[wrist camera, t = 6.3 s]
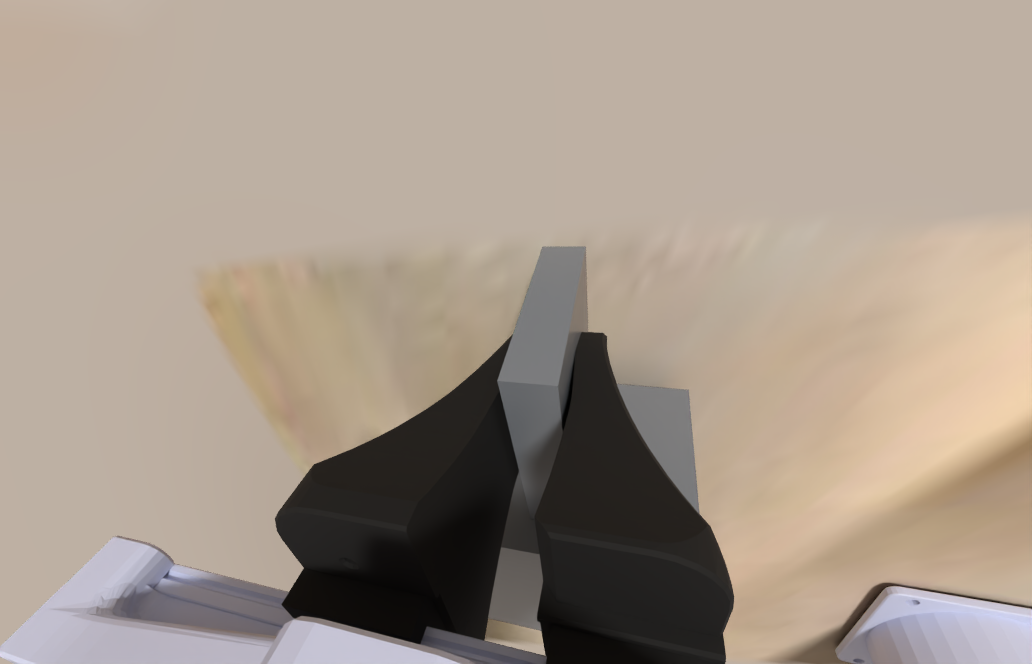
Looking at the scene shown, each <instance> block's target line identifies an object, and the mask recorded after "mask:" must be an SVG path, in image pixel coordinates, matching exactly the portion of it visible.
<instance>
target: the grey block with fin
mask: <svg viewBox="0 0 1032 664" xmlns="http://www.w3.org/2000/svg"><path fill="white" fill-rule="evenodd" d="M581 332H588V308H587V272H586V247H542V250H541V253H540V256H539V259H538V262H537V265H536V268H535V271H534V273H533V276H532V279H531V282H530V285H529V288H528V291H527V294H526V297H525V300H524V303H523V306H522V309H521V312H520V315H519V318H518V321H517V324H516V327H515V330H514V333H513V336H512V339H511V342H510V345H509V348H508V351H507V354H506V357H505V360H504V363H503V365H502V368H501V371H500V374H499V377H498V380H497V382H498V386H499V390H500V394H501V398H502V402H503V406H504V411H505V415H506V419H507V423H508V427H509V431H510V435H511V439H512V444H513V448H514V452H515V456H516V460H517V464H518V468H519V473H518V476H517V479H516V483H515V486H514V490H513V494H512V498H511V503H510V507H509V512H508V516H507V521H506V526H505V531H504V536H503V540H502V545H501V550H500V555H499V560H498V566H497V571H496V576H495V582H494V587H493V592H492V598H491V604H490V610H489V615H488V618H489V619H493V620H498V621H502V622H506V623H510V624H515V625H519V626H523V627H527V628H532V629H536V630H540V631H541V625H540V622H537V612H538V606H539V601H540V595H541V590H542V584H543V576H542V569H541V561H540V554H539V547H538V540H537V533H536V526H535V519H534V516H535V513H536V511H537V508H538V506H539V503H540V501H541V498H542V495H543V492H544V490H545V487H546V484H547V482H548V479H549V476H550V473H551V470H552V467H553V464H554V461H555V458H556V454H557V451H558V448H559V445H560V441H561V438H562V434H563V431H564V427H565V423H566V419H567V416H568V412H569V408H570V404H571V398H572V390H573V378H574V365H575V353H576V347H577V344H578V340H579V337H580V335H581ZM617 386H618V389H619V391H620V394H621V396H622V398H623V401H624V403H625V405H626V407H627V409H628V412H629V414H630V416H631V418H632V420H633V421H634V423H635V425H636V427H637V429H638V431H639V432H640V434H641V436H642V437H643V439H644V441H645V442H646V444H647V446H648V447H649V449H650V450H651V452H652V453H653V455H654V456H655V458H656V459H657V461H658V462H659V463H660V465H661V466H662V468H663V469H664V471H665V472H666V474H667V475H668V476H669V478H670V479H671V480H672V482H673V483H674V484H675V485H676V487H677V488H678V489H679V491H680V492H681V493H682V494H683V496H684V497H685V498H686V499H687V500H688V501H689V503H690V504H691V505H692V506H693V507H694V509H695V510H696V511H697V512H698V513H699V503H698V492H697V480H696V469H695V458H694V446H693V435H692V424H691V412H690V401H689V390H683V389H671V388H659V387H646V386H634V385H621V384H617Z"/></svg>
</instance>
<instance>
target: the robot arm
mask: <svg viewBox="0 0 1032 664" xmlns="http://www.w3.org/2000/svg"><path fill="white" fill-rule="evenodd" d="M512 336H513V335H512ZM512 336H511V337H510V338H509V339H508V340H507V341H506V342H505V343H504V344H503V345H502V346H501V347H500V348H499V349H498V350H497V351H496V352H495V353H494V354H493V355H492V356H491V357H490V358H489V359H488V360H487V361H486V362H485V363H484V364H482V365H481V366H480V367H479V368H478V369H477V370H476V371H475V372H474V373H473V374H472V375H470V376H469V377H468V378H467V379H466V380H465V381H463V382H462V383H461V384H460V385H459V386H458V387H456V388H455V389H454V390H453V391H451V392H450V393H449V394H447V395H446V396H445V397H443V398H442V399H441V400H439V401H438V402H436V403H435V404H433V405H432V406H431V407H429V408H428V409H426V410H424V411H423V412H421V413H419V414H418V415H416V416H415V417H413V418H411V419H410V420H408V421H406V422H405V423H403V424H401V425H400V426H398V427H396V428H394V429H392V430H390V431H388V432H387V433H385V434H383V435H381V436H379V437H377V438H375V439H373V440H371V441H369V442H367V443H364V444H362V445H360V446H358V447H356V448H353V449H351V450H349V451H346V452H344V453H341V454H339V455H337V456H334V457H332V458H329V459H327V460H324V461H322V462H319V463H317V464H314V465H313V467H312V468H311V469H310V470H309V472H308V473H307V474H306V476H305V477H304V478H303V480H302V481H301V482H300V484H299V485H298V486H297V488H296V489H295V491H294V492H293V493H292V494H291V496H290V497H289V498H288V500H287V501H286V502H285V504H284V505H283V507H282V508H281V509H280V510H279V512H278V514H277V516H276V518H275V521H276V528H277V532H278V533H279V535H280V536H281V538H282V540H283V541H284V542H285V544H286V545H287V546H288V548H289V549H290V550H291V551H292V553H293V554H294V556H295V557H296V558H297V559H298V561H299V562H300V563H301V565H302V566H303V567H304V569H303V571H302V572H301V574H300V575H299V577H298V579H297V580H296V582H295V583H294V585H293V587H292V588H291V590H290V591H289V592H287V591H283V590H279V589H275V588H271V587H267V586H263V585H259V584H255V583H251V582H247V581H243V580H239V579H235V578H231V577H227V576H223V575H219V574H215V573H211V572H207V571H203V570H199V569H195V568H191V567H187V566H183V565H179V564H175V563H174V562H173V560H172V558H171V557H170V556H169V555H167V553H165V552H164V551H163V550H161V549H160V548H158V547H156V546H155V545H152V544H150V543H147V542H143V541H138V540H134V539H130V538H125V537H122V536H116V537H113V538H112V539H111V540H110V541H109V542H107V544H106V545H104V546H103V547H102V549H100V550H99V551H98V552H97V553H96V554H95V555H94V556H93V557H92V558H91V559H90V560H89V561H88V562H87V563H86V564H85V565H84V566H83V567H82V568H81V569H80V570H79V571H78V572H77V573H76V574H74V576H73V577H72V578H70V579H69V580H68V581H67V582H66V583H65V584H64V585H63V586H62V587H61V588H60V589H59V590H58V591H57V592H56V593H55V594H54V595H53V596H52V597H51V598H50V599H49V600H48V601H47V602H46V603H45V604H44V605H43V606H41V607H40V608H39V609H38V611H36V612H35V613H34V614H33V615H32V616H31V617H30V618H29V619H28V620H27V621H26V622H25V623H24V624H23V625H22V626H21V627H20V628H19V629H18V630H17V631H16V632H15V633H14V634H13V635H11V636H10V638H8V639H7V640H6V641H5V642H4V643H3V644H2V645H1V646H0V657H1V658H3V659H6V660H8V661H10V662H12V663H14V664H725V662H726V654H725V646H724V638H723V632H724V629H725V627H726V624H727V622H728V620H729V617H730V615H731V612H732V610H733V604H734V594H733V589H732V584H731V581H730V577H729V574H728V570H727V567H726V564H725V561H724V558H723V556H722V553H721V551H720V548H719V546H718V543H717V541H716V538H715V536H714V534H713V531H712V529H711V527H710V525H709V524H708V523H707V522H706V521H705V520H704V519H703V518H702V516H701V515H700V514H699V513H698V512H697V511H696V510H695V509H694V507H693V506H692V505H691V504H690V503H689V501H688V500H687V499H686V498H685V497H684V496H683V494H682V493H681V492H680V491H679V489H678V488H677V487H676V485H675V484H674V483H673V482H672V480H671V479H670V478H669V476H668V475H667V474H666V472H665V471H664V469H663V468H662V466H661V465H660V463H659V462H658V461H657V459H656V458H655V456H654V455H653V453H652V452H651V450H650V449H649V447H648V446H647V444H646V442H645V441H644V439H643V437H642V436H641V434H640V432H639V431H638V429H637V427H636V425H635V423H634V421H633V420H632V418H631V416H630V414H629V412H628V409H627V407H626V405H625V403H624V401H623V398H622V396H621V394H620V391H619V389H618V386H617V383H616V380H615V378H614V375H613V372H612V368H611V365H610V361H609V357H608V352H607V336H606V335H605V334H604V333H593V332H581V335H580V337H579V340H578V344H577V347H576V353H575V365H574V378H573V390H572V398H571V404H570V408H569V412H568V416H567V419H566V423H565V427H564V431H563V434H562V438H561V441H560V445H559V448H558V451H557V454H556V458H555V461H554V464H553V467H552V470H551V473H550V476H549V479H548V482H547V484H546V487H545V490H544V492H543V495H542V498H541V501H540V503H539V506H538V508H537V511H536V513H535V516H534V519H535V526H536V533H537V540H538V547H539V554H540V561H541V569H542V576H543V584H542V590H541V595H540V601H539V606H538V612H537V622H540V625H541V631H542V637H543V643H544V648H545V654H546V656H544V655H540V654H536V653H532V652H527V651H523V650H519V649H516V648H512V647H507V646H504V645H500V644H496V643H492V642H488V641H484V639H485V633H486V627H487V621H488V615H489V610H490V604H491V598H492V592H493V587H494V582H495V576H496V571H497V566H498V560H499V555H500V550H501V545H502V540H503V536H504V531H505V526H506V521H507V516H508V512H509V507H510V503H511V498H512V494H513V490H514V486H515V483H516V479H517V476H518V473H519V468H518V464H517V460H516V456H515V452H514V448H513V444H512V439H511V435H510V431H509V427H508V423H507V419H506V415H505V411H504V406H503V402H502V398H501V394H500V390H499V386H498V382H497V380H498V377H499V374H500V371H501V368H502V365H503V363H504V360H505V357H506V354H507V351H508V348H509V345H510V342H511V339H512ZM835 652H836V655H837V657H838V659H840V660H842V661H845V662H849V663H854V664H1032V609H1030V608H1024V607H1018V606H1012V605H1006V604H1000V603H995V602H989V601H983V600H977V599H971V598H965V597H959V596H953V595H947V594H941V593H935V592H930V591H924V590H918V589H912V588H906V587H900V586H890V587H886V588H885V589H884V590H883V591H882V592H881V593H880V595H879V596H878V597H877V598H876V600H875V601H874V602H873V603H872V605H871V606H870V607H869V608H868V610H867V611H866V612H865V613H864V615H863V616H862V617H861V618H860V619H859V621H858V622H857V623H856V624H855V626H854V627H853V628H852V629H851V631H850V632H849V633H848V634H847V636H846V637H845V638H844V639H843V640H842V642H841V643H840V644H839V645H838V647H837V648H836V649H835Z"/></svg>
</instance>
